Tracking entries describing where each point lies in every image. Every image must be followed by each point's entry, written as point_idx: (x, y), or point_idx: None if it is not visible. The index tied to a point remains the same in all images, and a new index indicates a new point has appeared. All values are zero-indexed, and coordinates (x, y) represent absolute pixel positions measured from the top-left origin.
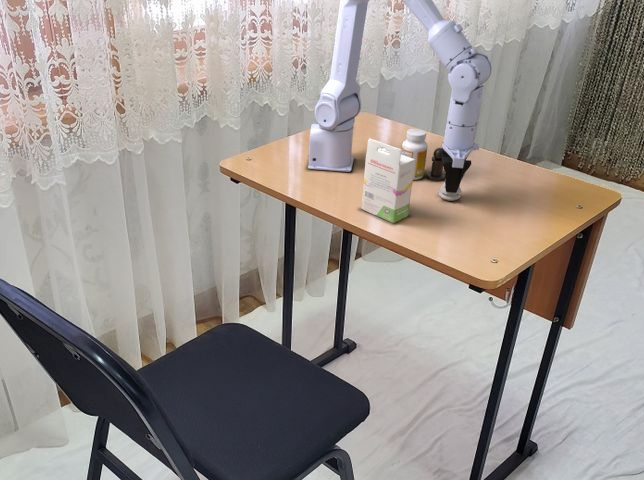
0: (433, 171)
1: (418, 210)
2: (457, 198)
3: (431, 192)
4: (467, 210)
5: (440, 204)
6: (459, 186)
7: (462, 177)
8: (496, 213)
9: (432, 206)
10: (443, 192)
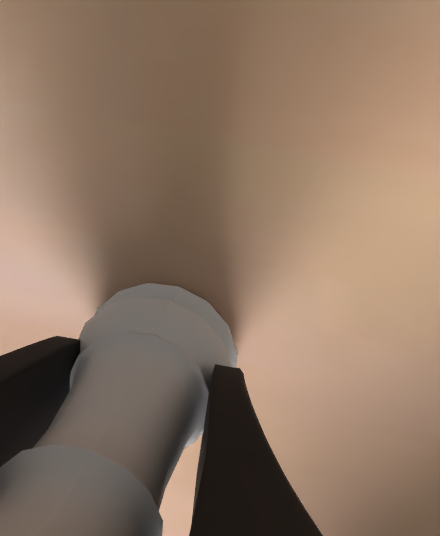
0: None
1: (342, 532)
2: (218, 315)
3: None
4: (358, 259)
5: (261, 408)
6: (157, 341)
7: (283, 478)
8: (431, 28)
9: (290, 456)
10: (202, 432)
